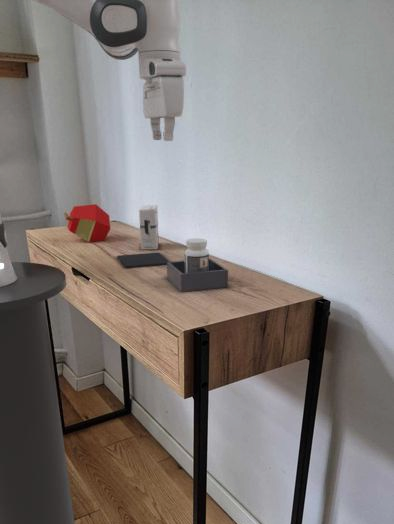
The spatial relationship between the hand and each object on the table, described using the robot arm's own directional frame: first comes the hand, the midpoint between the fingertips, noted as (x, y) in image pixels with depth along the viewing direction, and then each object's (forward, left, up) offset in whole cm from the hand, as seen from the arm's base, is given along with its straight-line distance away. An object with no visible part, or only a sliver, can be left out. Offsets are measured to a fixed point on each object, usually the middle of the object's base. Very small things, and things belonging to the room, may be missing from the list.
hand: (162, 140), depth 109 cm
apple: (-13, +45, -31) cm, 56 cm away
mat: (-3, +13, -30) cm, 33 cm away
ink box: (+3, +29, -31) cm, 43 cm away
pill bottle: (+4, -11, -31) cm, 33 cm away
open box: (+4, -11, -30) cm, 33 cm away
